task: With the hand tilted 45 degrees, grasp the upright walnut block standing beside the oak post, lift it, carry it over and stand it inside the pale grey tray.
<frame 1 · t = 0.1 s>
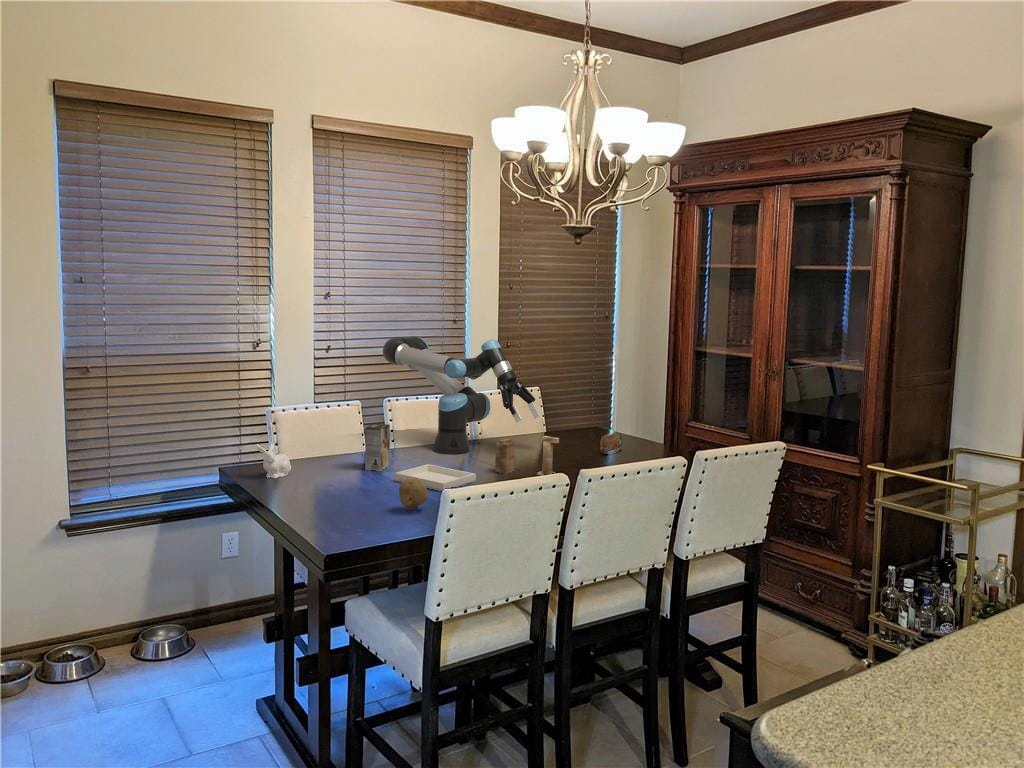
hand: (528, 419, 332), 15 cm above the table, tool tilted 35°, fingers open, 13 cm apart
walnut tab: (504, 472, 305), on the table
oak post: (546, 475, 301), on the table
natural sponge: (413, 510, 252), on the table
tray: (435, 481, 287), on the table
rabbit: (274, 476, 287), on the table
coffee box: (377, 468, 304), on the table
tin: (610, 453, 344), on the table
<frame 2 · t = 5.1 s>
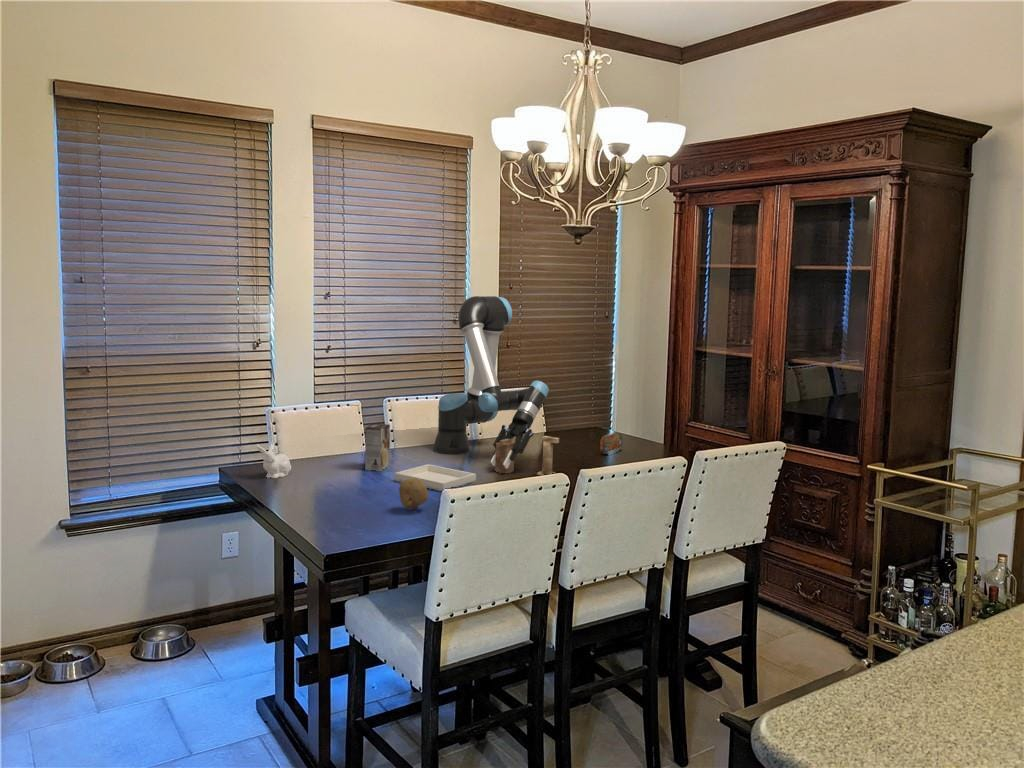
hand: (498, 465, 301), 3 cm above the table, tool tilted 45°, fingers closed on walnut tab, 5 cm apart
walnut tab: (504, 472, 305), on the table, touching gripper
everything else where it was.
when the fingers open (6 cm above the table, at t = 11.0 s): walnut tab drops 1 cm, resting on tray.
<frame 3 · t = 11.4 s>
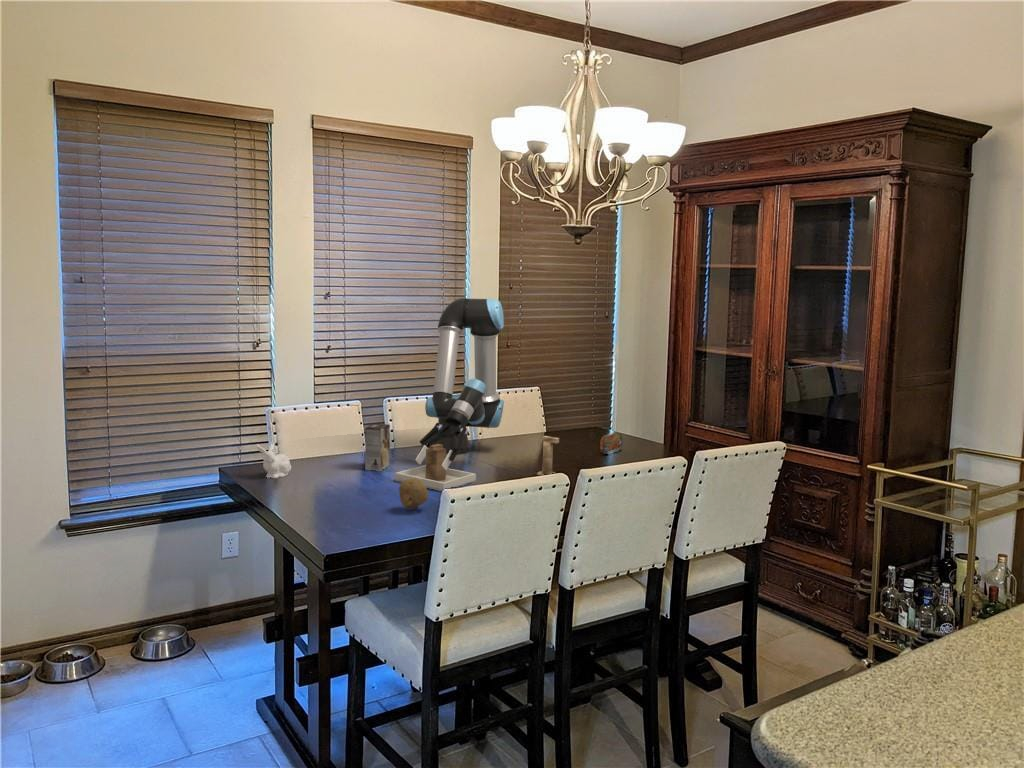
hand: (430, 464, 284), 7 cm above the table, tool tilted 45°, fingers open, 11 cm apart
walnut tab: (435, 479, 287), point 1 cm above the table, touching tray
everything else where it was.
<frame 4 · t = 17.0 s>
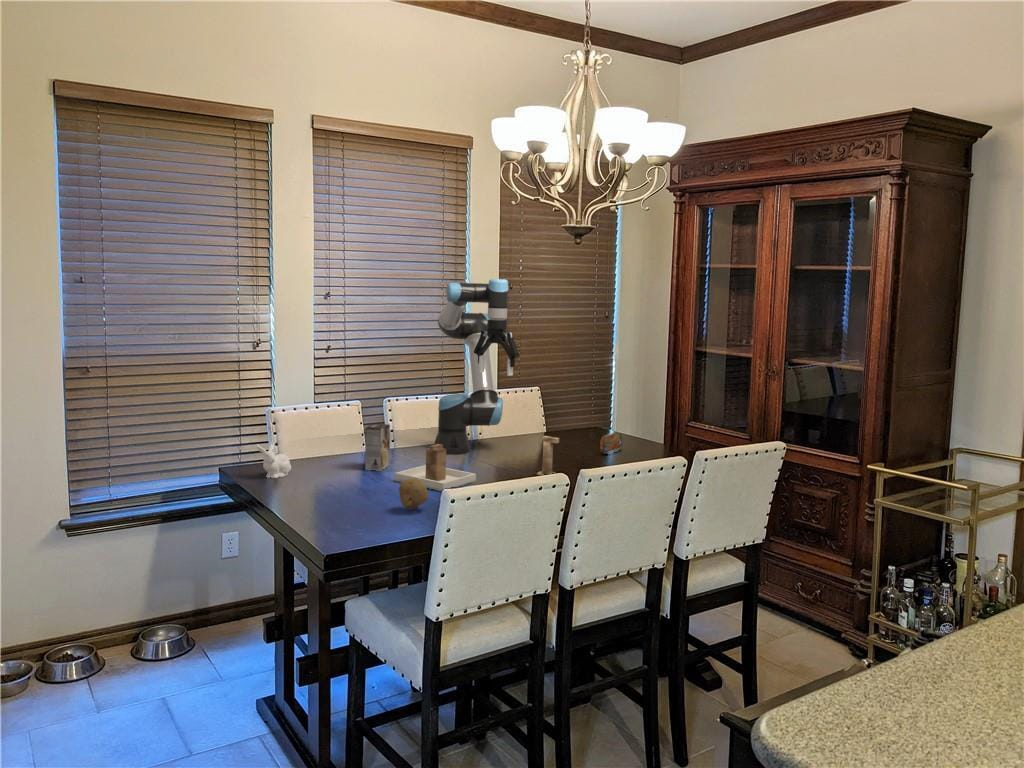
hand: (495, 373, 318), 35 cm above the table, tool pointing down, fingers open, 13 cm apart
nothing on the table moved.
at the end: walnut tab inside the target area on the tray (0.1 cm from its centre), point 0.8 cm above the tray's base; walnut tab tilted 0°; the gripper is holding nothing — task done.
